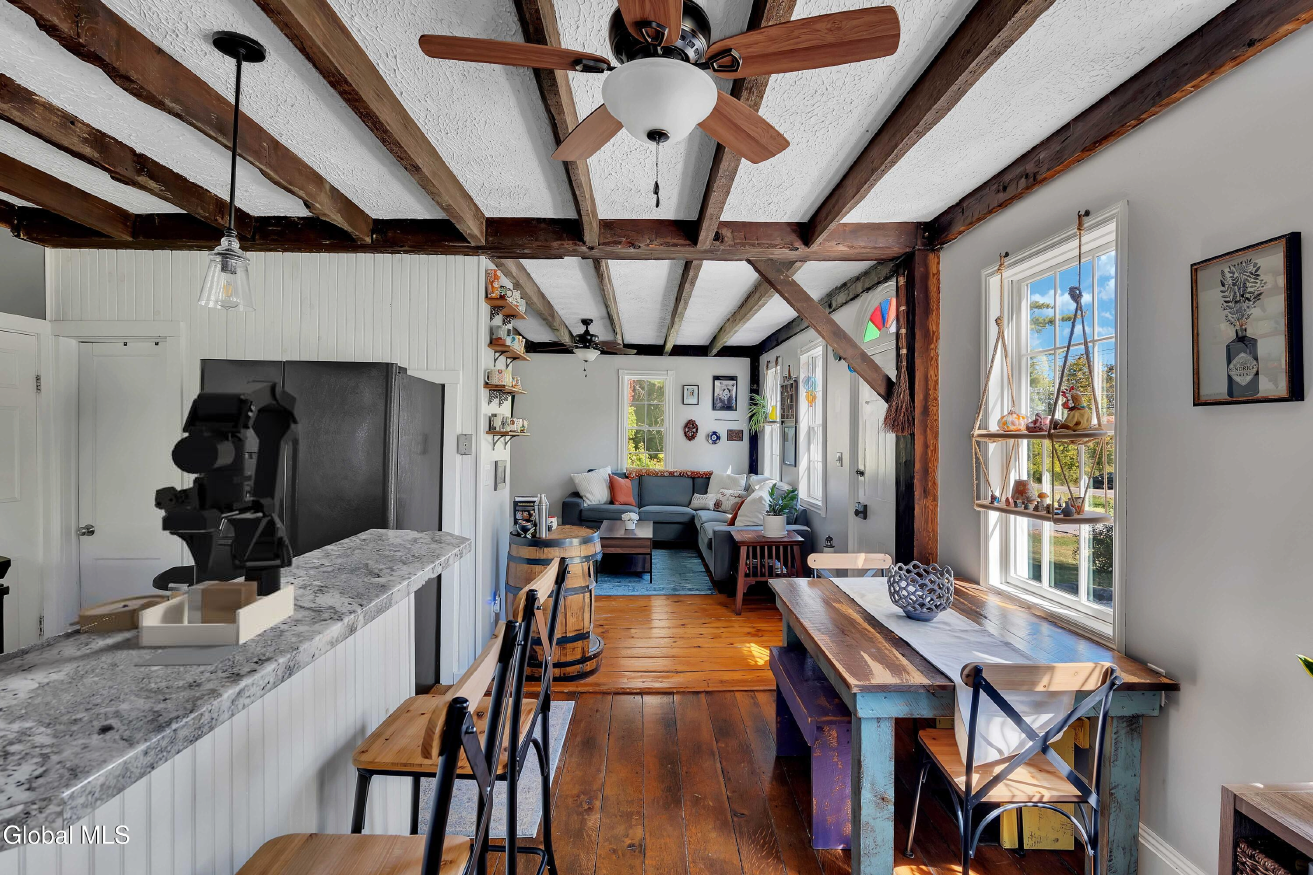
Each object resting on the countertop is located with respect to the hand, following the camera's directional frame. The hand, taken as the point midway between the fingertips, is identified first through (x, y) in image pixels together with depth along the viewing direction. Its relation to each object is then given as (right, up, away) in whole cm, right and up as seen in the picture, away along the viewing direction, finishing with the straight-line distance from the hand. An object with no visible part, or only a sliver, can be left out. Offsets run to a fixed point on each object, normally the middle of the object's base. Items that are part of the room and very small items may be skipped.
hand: (223, 566), depth 94 cm
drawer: (0, -11, 0) cm, 11 cm away
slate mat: (+4, -11, -11) cm, 16 cm away
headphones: (-17, -11, +3) cm, 20 cm away
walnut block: (0, -10, 0) cm, 10 cm away
